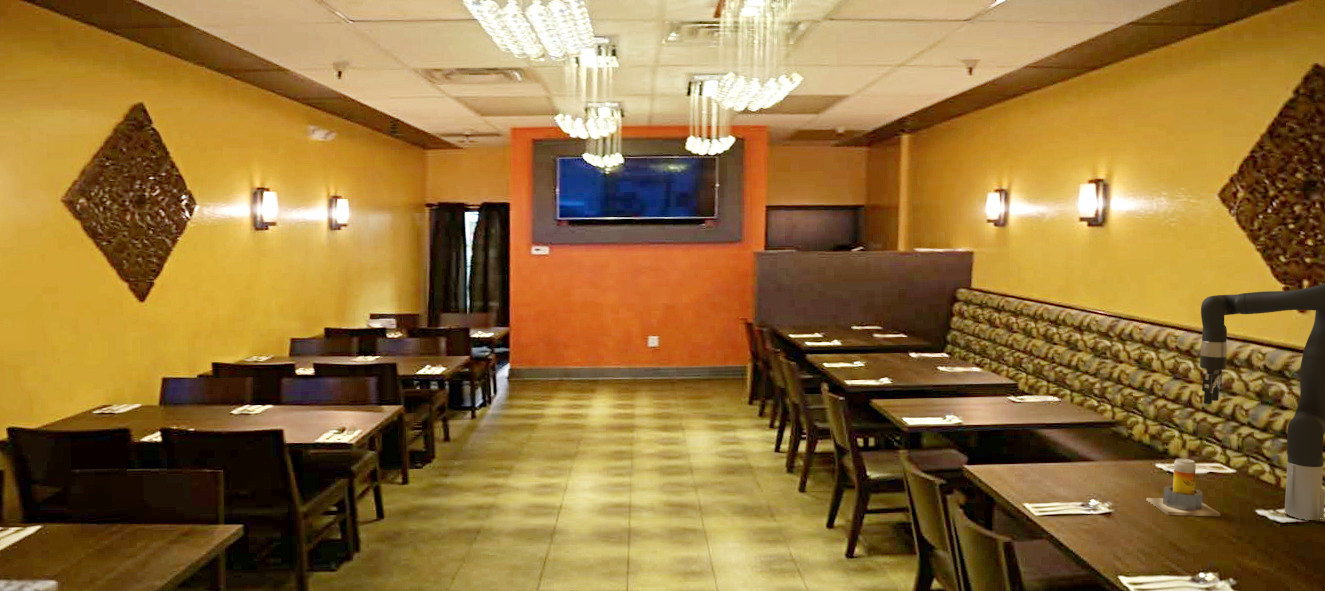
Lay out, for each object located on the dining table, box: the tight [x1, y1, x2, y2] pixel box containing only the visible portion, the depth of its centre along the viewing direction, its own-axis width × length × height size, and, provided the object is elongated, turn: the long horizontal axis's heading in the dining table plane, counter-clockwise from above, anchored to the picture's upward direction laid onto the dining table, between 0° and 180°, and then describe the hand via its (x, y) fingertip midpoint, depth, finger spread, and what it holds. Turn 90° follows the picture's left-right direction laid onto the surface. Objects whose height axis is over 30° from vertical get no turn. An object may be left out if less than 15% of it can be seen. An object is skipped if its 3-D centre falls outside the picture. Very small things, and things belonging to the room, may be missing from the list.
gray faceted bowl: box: [1162, 485, 1204, 511], centre depth 290 cm, size 11×11×5 cm
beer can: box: [1172, 457, 1197, 494], centre depth 290 cm, size 6×6×15 cm
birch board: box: [1146, 497, 1221, 517], centre depth 290 cm, size 16×15×1 cm
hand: (1211, 402), depth 299 cm, fingers open, 8 cm apart
